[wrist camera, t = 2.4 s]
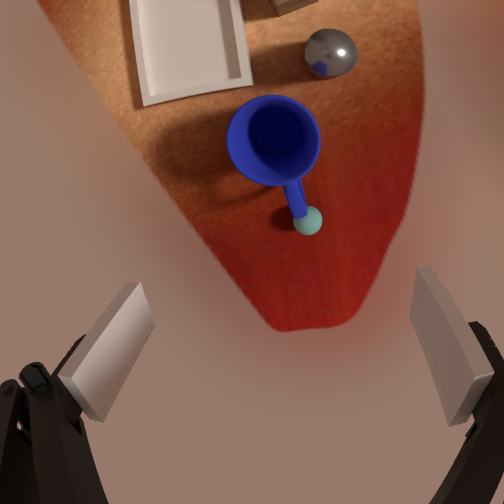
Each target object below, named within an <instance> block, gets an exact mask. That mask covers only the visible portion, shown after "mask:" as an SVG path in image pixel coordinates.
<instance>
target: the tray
mask: <svg viewBox="0 0 504 504" xmlns="http://www.w3.org/2000/svg"><path fill="white" fill-rule="evenodd" d="M129 4H130V14H131V23H132V32H133V40H134V48H135V55H136V62H137V69H138V76H139V82H140V88H141V94H142V100H143V106H150V105H154V104H158V103H162V102H167V101H171V100H175V99H180V98H184V97H189V96H194V95H199V94H204V93H210V92H215V91H221V90H227V89H234V88H240V87H247V86H254V82H253V75H252V68H251V61H250V54H249V48H248V41H247V35H246V28H245V22H244V16H243V10H242V3H241V0H129Z"/></svg>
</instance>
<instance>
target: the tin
mask: <svg viewBox="0 0 504 504" xmlns="http://www.w3.org/2000/svg"><path fill="white" fill-rule="evenodd" d="M356 61H357V48H356V45H355V44H354V42H353V40H352V39H351V38H350V37H349V36H348V35H347V34H345V33H344V32H342V31H339V30H336V29H322V30H319V31H317V32H315V33H314V34H313V35H312V36H311V37H310V38H309V39H308V41H307V44H306V48H305V52H304V63H305V66H306V68H307V69H308V70H309V71H310V73H312V74H313V75H314V76H316V77H318V78H321V79H334V78H336V77H339V76H341V75H343V74H345V73H347V72H349V71H350V70H351V69H352V68H353V67H354V65H355V63H356Z"/></svg>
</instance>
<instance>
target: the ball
mask: <svg viewBox="0 0 504 504" xmlns="http://www.w3.org/2000/svg"><path fill="white" fill-rule="evenodd" d="M307 210H308V214H307V215H306V216H305V217H303V218H299V219H295V218H293V224H294V227H295V228H296V230H297V231H298V232H300V233H301V234H304V235H311V234H314V233H316V232H317V231H318V230H319V229H320V227H321V224H322V216H321V214H320V212H319V211H318V210H317V209H316V208H314V207H312V206H307Z"/></svg>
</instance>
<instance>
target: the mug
mask: <svg viewBox="0 0 504 504" xmlns="http://www.w3.org/2000/svg"><path fill="white" fill-rule="evenodd" d="M320 144H321V139H320V132H319V128H318V125H317V123H316V121H315V119H314V117H313V116H312V114H311V113H310V112H309V111H308V110H307V109H306V108H305V107H304V106H303V105H302V104H300V103H299V102H297V101H295V100H293V99H291V98H288V97H285V96H281V95H264V96H260V97H256V98H254V99H252V100H250V101H248V102H246V103H245V104H243V105H242V106H241V107H240V108H239V109H238V110H237V111H236V112H235V114H234V115H233V117H232V118H231V120H230V122H229V125H228V128H227V133H226V146H227V151H228V154H229V157H230V159H231V161H232V163H233V164H234V166H235V167H236V169H237V170H238V171H239V172H240V173H241V174H243V175H244V176H245V177H246V178H248V179H250V180H251V181H253V182H256V183H258V184H262V185H267V186H282V185H283V189H284V193H285V196H286V199H287V202H288V205H289V208H290V211H291V213H292V216H293V218H295V219H299V218H303V217H305V216H306V215H307V214H308V210H307V205H306V199H305V194H304V190H303V186H302V183H301V180H300V178H302V177H303V176H304V175H305V174H307V173H308V172H309V170H310V169H311V168H312V167H313V165H314V164H315V162H316V160H317V158H318V155H319V151H320Z"/></svg>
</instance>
